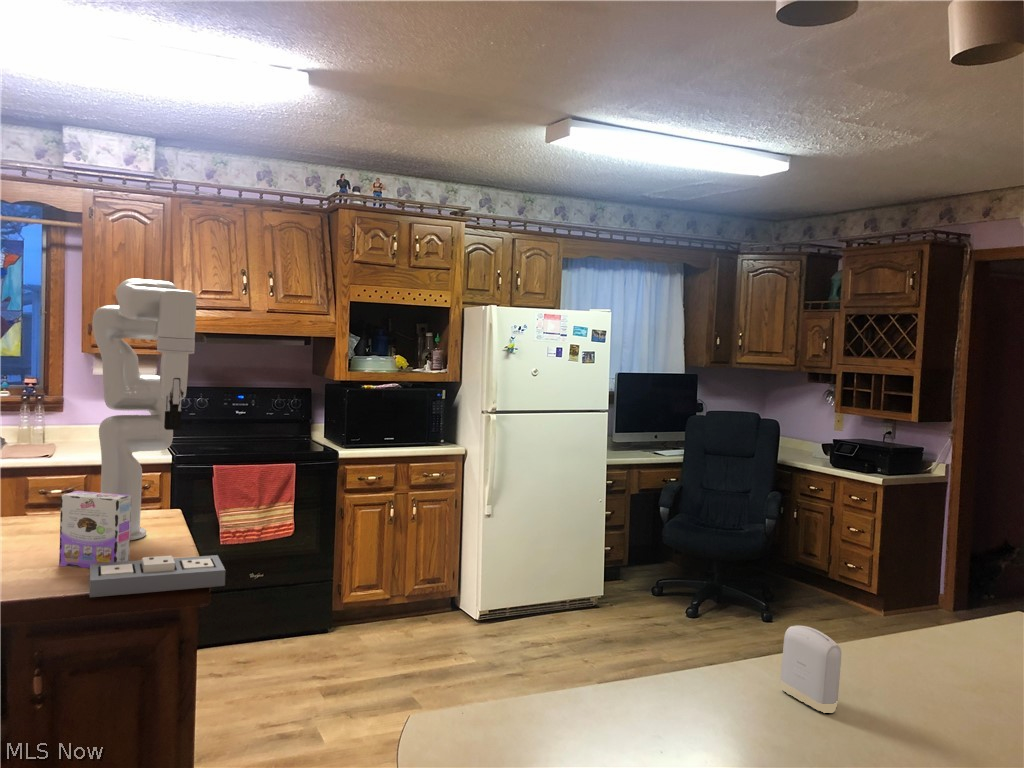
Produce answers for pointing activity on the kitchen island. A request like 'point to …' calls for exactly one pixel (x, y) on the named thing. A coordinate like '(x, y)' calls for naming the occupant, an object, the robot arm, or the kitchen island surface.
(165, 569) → the tile
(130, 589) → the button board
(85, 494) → the candy box
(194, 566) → the tile
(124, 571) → the tile
